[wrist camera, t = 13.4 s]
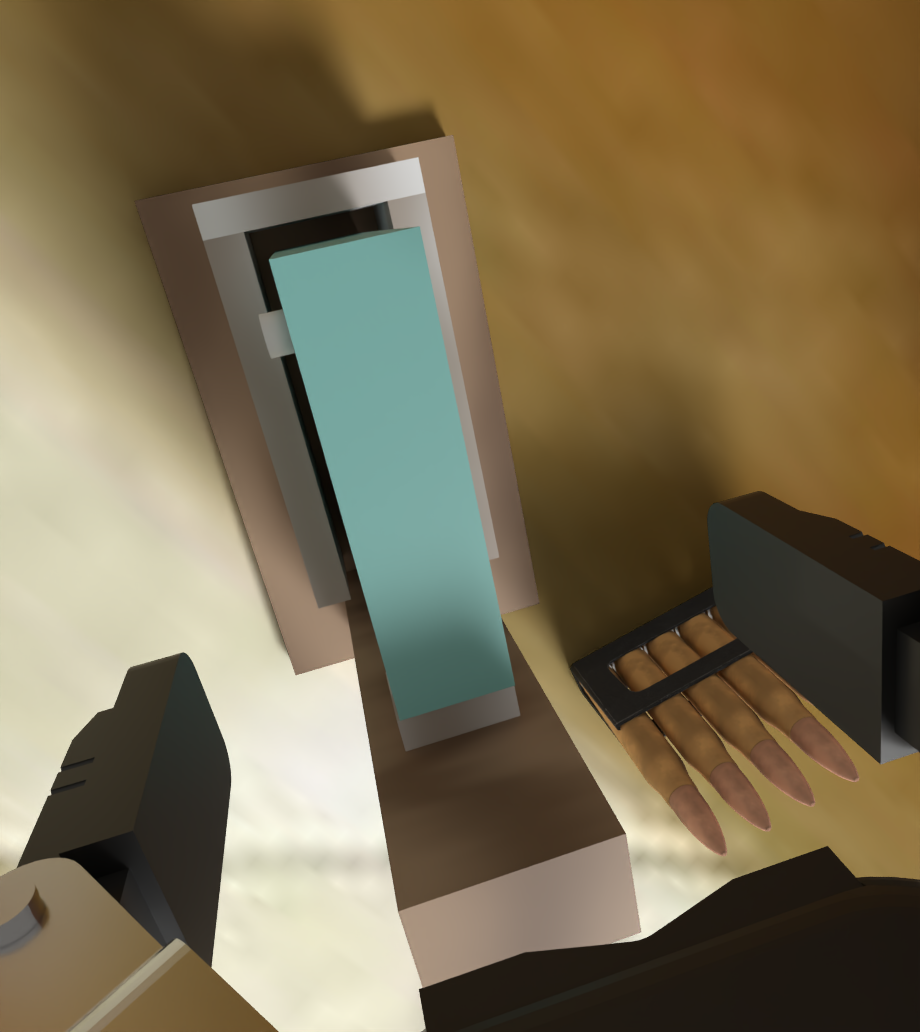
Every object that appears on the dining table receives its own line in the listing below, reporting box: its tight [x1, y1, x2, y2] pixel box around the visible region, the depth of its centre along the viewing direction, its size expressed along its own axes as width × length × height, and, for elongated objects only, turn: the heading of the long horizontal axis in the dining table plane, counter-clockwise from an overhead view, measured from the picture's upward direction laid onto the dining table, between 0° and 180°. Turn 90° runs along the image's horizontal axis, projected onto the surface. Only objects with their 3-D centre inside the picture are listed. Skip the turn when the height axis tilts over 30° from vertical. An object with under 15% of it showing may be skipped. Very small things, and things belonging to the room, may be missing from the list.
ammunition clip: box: [570, 587, 859, 856], centre depth 31 cm, size 11×2×12 cm, turn 115°
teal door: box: [259, 226, 515, 721], centre depth 23 cm, size 4×11×13 cm, turn 11°
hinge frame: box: [135, 135, 641, 988], centre depth 22 cm, size 11×19×18 cm, turn 11°
